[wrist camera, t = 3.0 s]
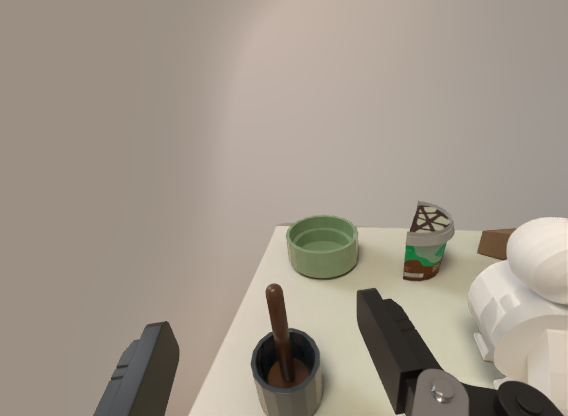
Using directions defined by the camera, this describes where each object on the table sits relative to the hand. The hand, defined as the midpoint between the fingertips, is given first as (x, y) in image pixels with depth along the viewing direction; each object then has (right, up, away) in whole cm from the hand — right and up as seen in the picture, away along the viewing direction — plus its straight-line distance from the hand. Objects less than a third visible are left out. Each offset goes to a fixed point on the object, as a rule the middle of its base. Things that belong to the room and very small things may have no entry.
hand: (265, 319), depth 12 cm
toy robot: (+26, -14, +19) cm, 36 cm away
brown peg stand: (+1, -16, +20) cm, 26 cm away
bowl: (+8, -5, +42) cm, 43 cm away
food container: (+26, -6, +36) cm, 45 cm away
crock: (+2, -17, +20) cm, 26 cm away
